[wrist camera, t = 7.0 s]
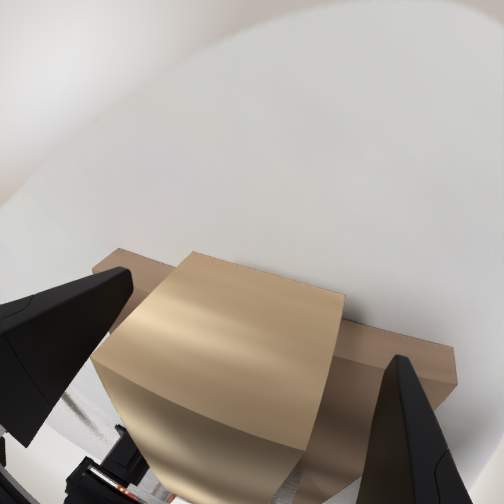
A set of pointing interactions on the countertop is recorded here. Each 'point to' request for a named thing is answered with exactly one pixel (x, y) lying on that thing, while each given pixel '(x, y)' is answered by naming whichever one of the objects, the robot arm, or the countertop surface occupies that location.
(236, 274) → the bar
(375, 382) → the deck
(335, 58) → the countertop surface
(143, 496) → the tunnel
